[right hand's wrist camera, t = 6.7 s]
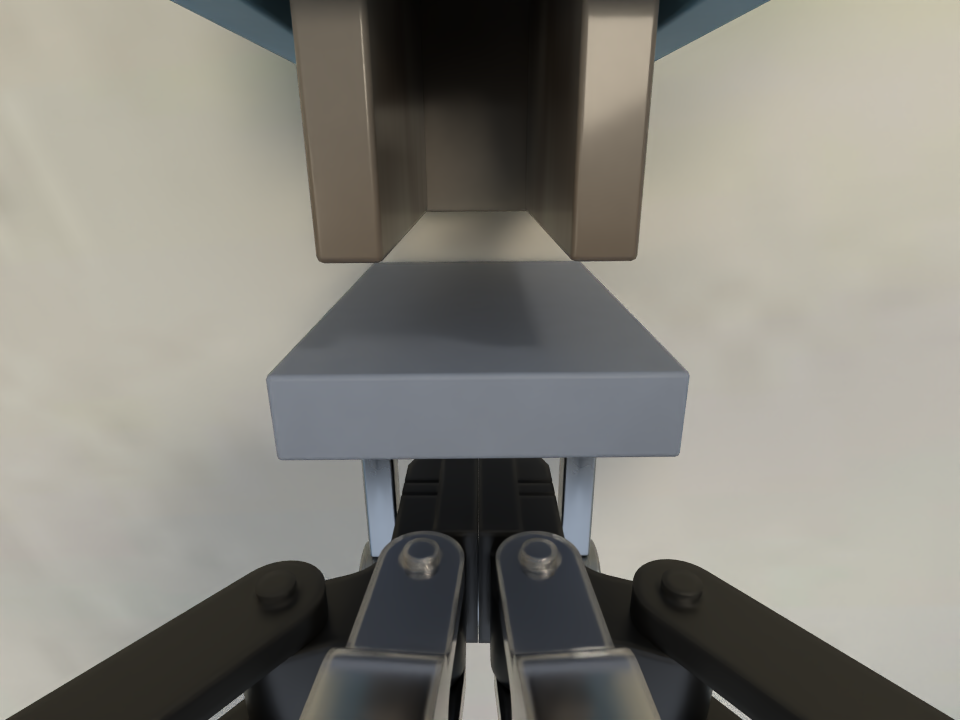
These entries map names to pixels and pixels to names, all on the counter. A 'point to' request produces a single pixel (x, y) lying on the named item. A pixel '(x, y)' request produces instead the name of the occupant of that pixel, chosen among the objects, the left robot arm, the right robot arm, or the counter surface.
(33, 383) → the counter surface
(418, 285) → the drawer
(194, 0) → the cabinet
